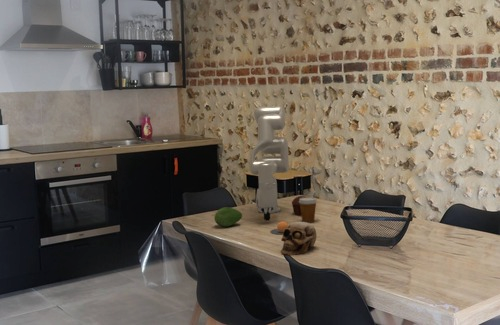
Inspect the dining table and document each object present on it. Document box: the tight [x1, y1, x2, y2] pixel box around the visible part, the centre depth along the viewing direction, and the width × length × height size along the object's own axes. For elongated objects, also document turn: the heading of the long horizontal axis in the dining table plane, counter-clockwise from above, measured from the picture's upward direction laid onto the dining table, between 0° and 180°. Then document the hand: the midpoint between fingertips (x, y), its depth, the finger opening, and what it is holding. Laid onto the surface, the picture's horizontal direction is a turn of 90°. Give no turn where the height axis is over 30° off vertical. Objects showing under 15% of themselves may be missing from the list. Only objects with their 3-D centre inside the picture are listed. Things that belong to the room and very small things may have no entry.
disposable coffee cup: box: [299, 196, 318, 223], centre depth 334 cm, size 10×10×12 cm
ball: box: [276, 221, 289, 233], centre depth 311 cm, size 6×6×6 cm
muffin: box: [291, 195, 306, 217], centre depth 351 cm, size 12×11×10 cm
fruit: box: [214, 206, 243, 228], centre depth 330 cm, size 15×10×10 cm, turn 115°
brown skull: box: [280, 221, 318, 256], centre depth 280 cm, size 16×17×13 cm
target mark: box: [269, 228, 283, 236], centre depth 314 cm, size 12×12×1 cm
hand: (267, 220), depth 333 cm, fingers closed
